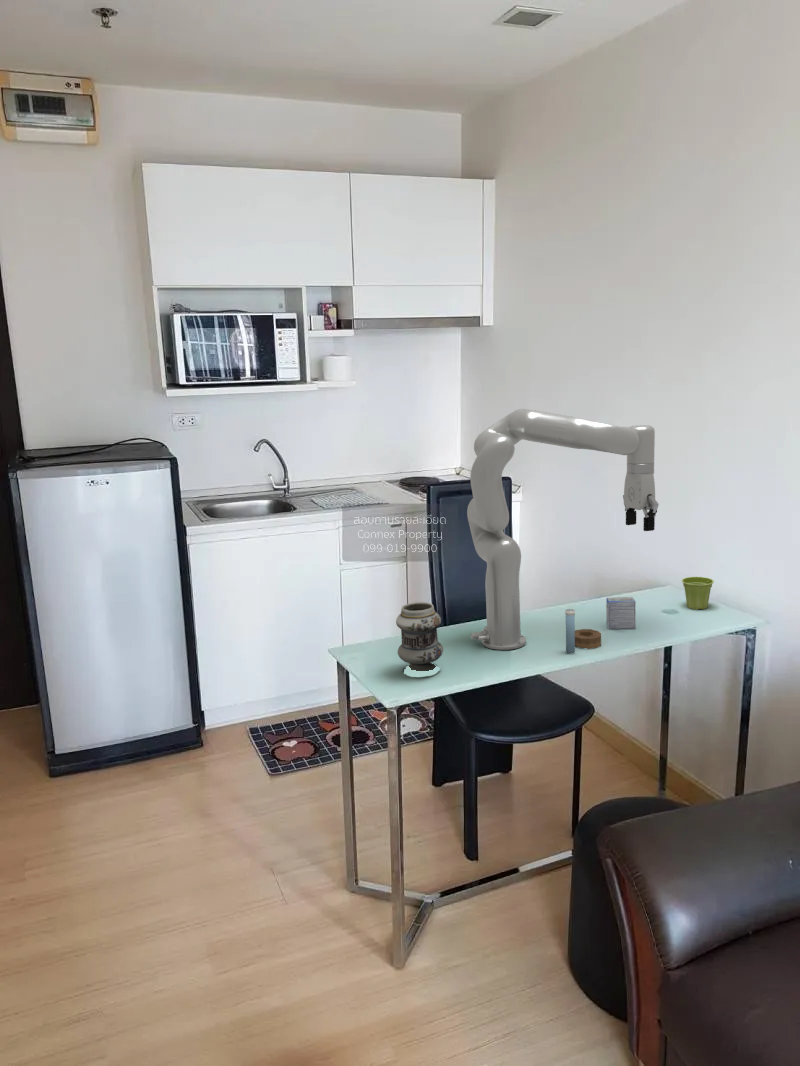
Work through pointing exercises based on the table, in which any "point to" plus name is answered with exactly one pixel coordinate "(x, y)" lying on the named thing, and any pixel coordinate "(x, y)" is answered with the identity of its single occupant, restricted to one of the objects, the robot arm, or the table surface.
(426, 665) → the apothecary jar
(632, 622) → the medicine box
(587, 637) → the bead
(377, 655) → the table surface
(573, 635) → the blue grey cylinder
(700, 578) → the plant pot
